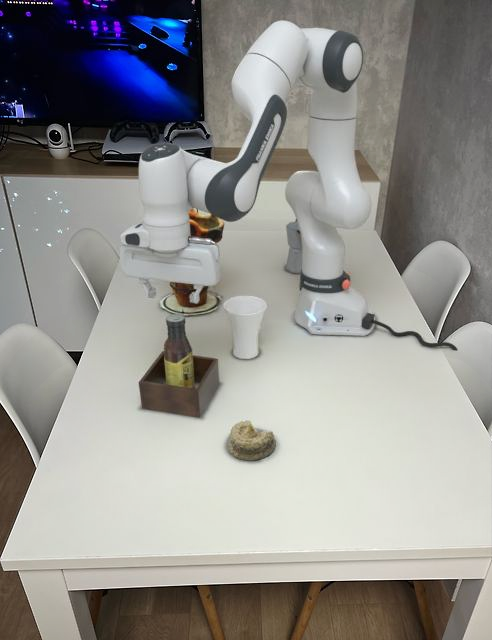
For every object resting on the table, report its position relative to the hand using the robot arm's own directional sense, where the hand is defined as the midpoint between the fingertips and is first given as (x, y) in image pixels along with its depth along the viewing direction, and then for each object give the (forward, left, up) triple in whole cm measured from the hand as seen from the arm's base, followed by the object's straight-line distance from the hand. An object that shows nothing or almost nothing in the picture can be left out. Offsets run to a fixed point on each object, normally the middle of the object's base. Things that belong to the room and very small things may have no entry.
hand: (173, 299), depth 126 cm
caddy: (0, 0, -24) cm, 24 cm away
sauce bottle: (0, 0, -24) cm, 24 cm away
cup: (-9, -22, -24) cm, 34 cm away
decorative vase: (+14, -46, -24) cm, 54 cm away
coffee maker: (-11, -79, -24) cm, 83 cm away
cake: (-20, +13, -24) cm, 34 cm away
